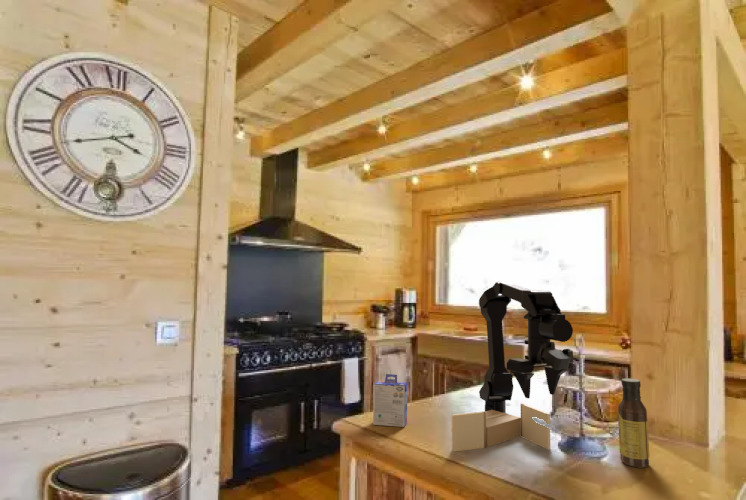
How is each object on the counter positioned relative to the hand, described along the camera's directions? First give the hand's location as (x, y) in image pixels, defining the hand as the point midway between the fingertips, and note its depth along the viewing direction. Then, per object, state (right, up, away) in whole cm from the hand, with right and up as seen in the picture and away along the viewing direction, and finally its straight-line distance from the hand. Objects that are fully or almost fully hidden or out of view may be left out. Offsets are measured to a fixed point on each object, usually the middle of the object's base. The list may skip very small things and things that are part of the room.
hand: (539, 396), depth 121 cm
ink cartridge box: (-39, -14, +17) cm, 45 cm away
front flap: (-20, -13, -4) cm, 24 cm away
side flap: (-1, -13, +2) cm, 13 cm away
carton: (-12, -13, +7) cm, 19 cm away
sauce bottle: (+18, -13, -12) cm, 25 cm away
